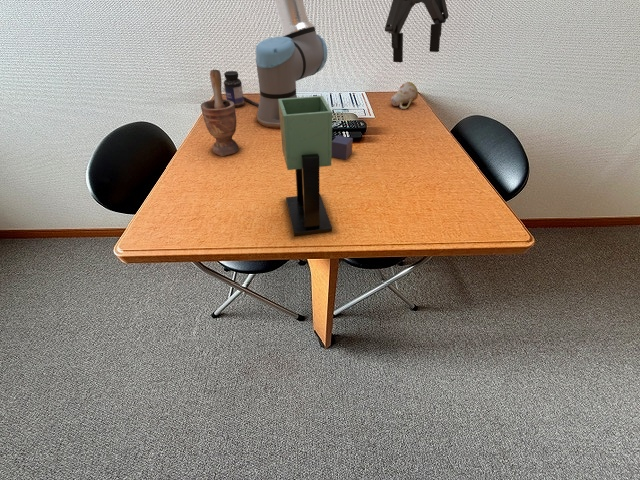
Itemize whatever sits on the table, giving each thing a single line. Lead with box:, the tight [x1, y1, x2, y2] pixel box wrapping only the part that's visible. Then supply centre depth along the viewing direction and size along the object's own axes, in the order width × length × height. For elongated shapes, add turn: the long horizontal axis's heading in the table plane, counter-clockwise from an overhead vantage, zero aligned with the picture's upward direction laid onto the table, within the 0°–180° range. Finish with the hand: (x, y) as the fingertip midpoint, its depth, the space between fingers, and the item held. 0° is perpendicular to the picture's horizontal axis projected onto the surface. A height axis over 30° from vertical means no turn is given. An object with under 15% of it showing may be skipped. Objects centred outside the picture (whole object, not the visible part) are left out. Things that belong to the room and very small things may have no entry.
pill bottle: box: [223, 70, 245, 108], centre depth 122 cm, size 6×6×11 cm
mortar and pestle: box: [200, 69, 240, 157], centre depth 93 cm, size 12×9×20 cm
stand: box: [285, 154, 333, 237], centre depth 69 cm, size 8×13×17 cm, turn 11°
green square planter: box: [278, 95, 333, 171], centre depth 62 cm, size 8×8×10 cm
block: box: [331, 134, 354, 161], centre depth 94 cm, size 4×4×4 cm
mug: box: [390, 81, 419, 110], centre depth 124 cm, size 8×10×10 cm
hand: (416, 56), depth 91 cm, fingers open, 13 cm apart
